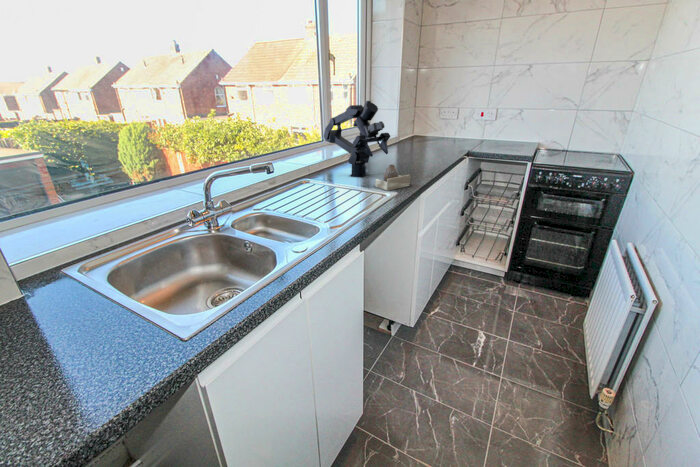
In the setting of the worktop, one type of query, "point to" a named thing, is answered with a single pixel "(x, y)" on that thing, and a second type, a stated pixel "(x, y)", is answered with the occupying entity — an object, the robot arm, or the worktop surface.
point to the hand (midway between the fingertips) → (379, 154)
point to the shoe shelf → (393, 183)
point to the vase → (390, 172)
